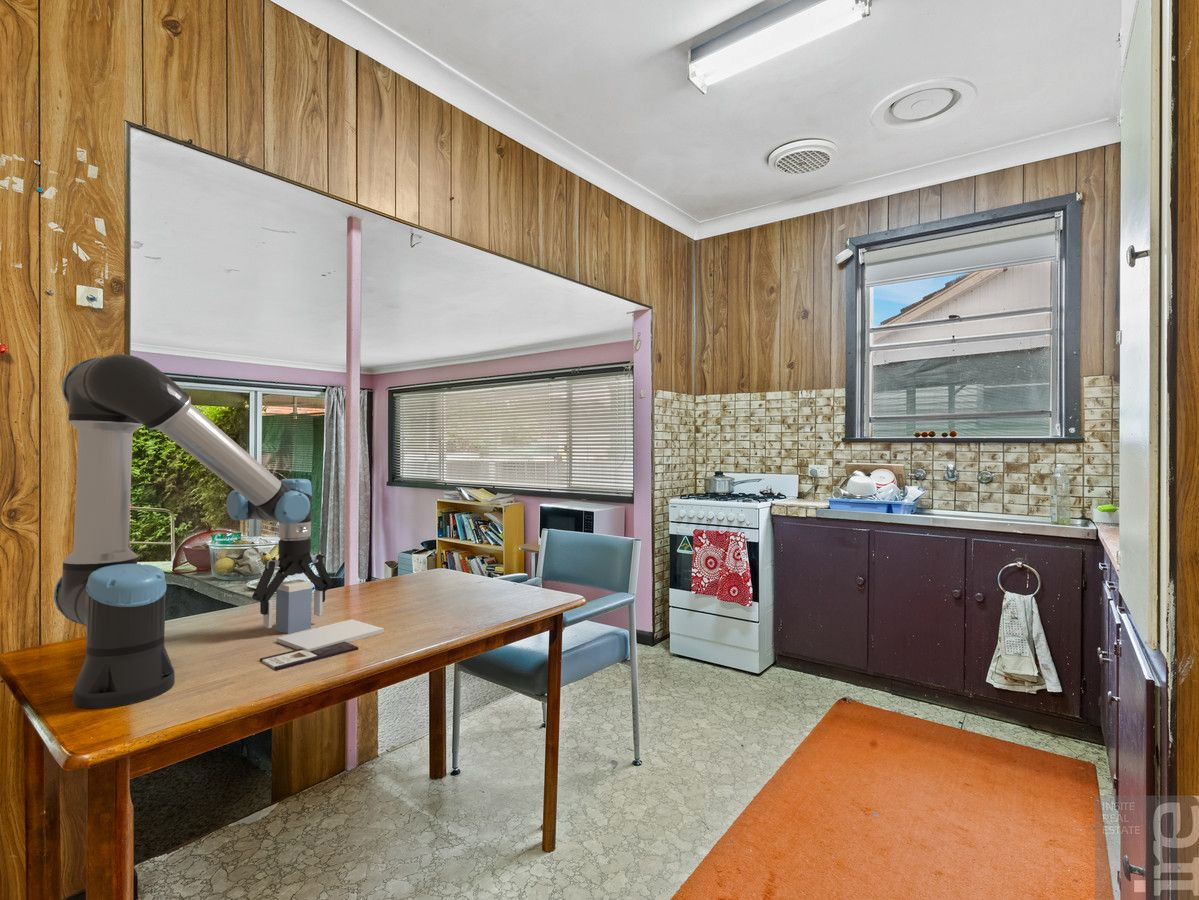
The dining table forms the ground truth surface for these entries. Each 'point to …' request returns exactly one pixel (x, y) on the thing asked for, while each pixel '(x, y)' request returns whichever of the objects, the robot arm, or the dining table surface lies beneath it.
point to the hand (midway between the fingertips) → (293, 620)
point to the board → (329, 635)
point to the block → (293, 606)
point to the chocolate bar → (306, 656)
